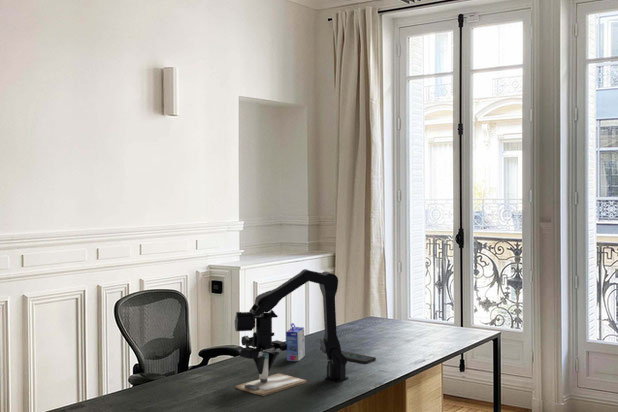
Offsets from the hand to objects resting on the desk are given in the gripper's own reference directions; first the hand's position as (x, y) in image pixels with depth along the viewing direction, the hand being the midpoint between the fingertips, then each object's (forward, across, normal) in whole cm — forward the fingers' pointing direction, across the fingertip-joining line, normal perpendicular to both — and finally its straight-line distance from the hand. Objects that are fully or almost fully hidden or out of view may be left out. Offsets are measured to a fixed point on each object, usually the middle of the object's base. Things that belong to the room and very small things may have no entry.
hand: (263, 373), depth 249 cm
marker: (+3, 0, 0) cm, 3 cm away
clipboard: (+4, -1, +3) cm, 5 cm away
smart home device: (+5, -51, -1) cm, 51 cm away
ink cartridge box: (+4, -35, -17) cm, 40 cm away
